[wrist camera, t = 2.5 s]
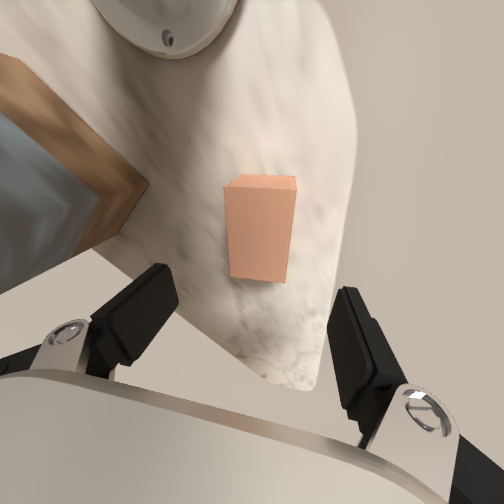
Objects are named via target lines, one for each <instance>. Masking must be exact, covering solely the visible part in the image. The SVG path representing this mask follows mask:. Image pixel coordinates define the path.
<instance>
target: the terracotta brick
mask: <svg viewBox="0 0 504 504" xmlns="http://www.w3.org/2000/svg"><path fill="white" fill-rule="evenodd" d="M296 192H297V187H296V180H295V176H269V175H242V176H240V177H239V178H237V179H235V180H234V181H232V182H230V183H229V184H227V185H225V186H224V199H225V212H226V225H227V238H228V251H229V264H230V277H236V278H244V279H252V280H260V281H269V282H277V283H285V280H286V272H287V264H288V256H289V248H290V240H291V232H292V224H293V216H294V208H295V200H296Z"/></svg>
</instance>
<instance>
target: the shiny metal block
mask: <svg viewBox="0 0 504 504" xmlns="http://www.w3.org/2000/svg"><path fill="white" fill-rule="evenodd" d="M148 186H149V183H148V182H147V181H146V180H145V179H144V178H142V177H141V176H140V175H139V174H138V173H137V172H136V171H135V170H134V169H133V168H132V167H131V166H130V165H129V164H128V163H127V162H126V161H125V160H124V159H123V158H122V157H121V156H120V155H119V154H118V153H117V152H115V151H114V150H113V149H112V148H111V147H110V146H109V145H108V144H107V143H106V142H105V141H104V140H103V139H102V138H101V137H100V136H99V135H98V134H97V133H96V132H95V131H94V130H93V129H92V128H91V127H90V126H89V125H87V124H86V123H85V122H84V121H83V120H82V119H81V118H80V117H79V116H78V115H77V114H76V113H75V112H74V111H73V110H72V109H71V108H70V107H69V106H68V105H67V104H66V103H65V102H64V101H63V100H62V99H60V98H59V97H58V96H57V95H56V94H55V93H54V92H53V91H52V90H51V89H50V88H49V87H48V86H47V85H46V84H45V83H44V82H43V81H42V80H41V79H40V78H39V77H38V76H37V75H36V74H35V73H34V72H32V71H31V70H30V69H29V68H28V67H27V66H26V65H25V64H24V63H23V62H22V61H21V60H20V59H17V58H14V57H11V56H8V55H5V54H1V53H0V295H1V294H2V293H4V292H6V291H8V290H10V289H12V288H14V287H16V286H18V285H20V284H22V283H24V282H26V281H28V280H30V279H32V278H33V277H36V276H37V275H39V274H41V273H43V272H45V271H47V270H49V269H51V268H53V267H55V266H57V265H59V264H61V263H63V262H65V261H67V260H69V259H71V258H72V257H74V256H76V255H78V254H80V253H82V252H84V251H86V250H88V249H90V248H92V247H94V246H96V245H98V244H100V243H102V242H104V241H106V240H108V239H110V238H111V237H113V236H115V235H117V233H118V232H119V230H120V229H121V227H122V226H123V224H124V222H125V221H126V219H127V218H128V216H129V215H130V213H131V212H132V210H133V209H134V207H135V206H136V204H137V203H138V201H139V199H140V198H141V196H142V195H143V193H144V192H145V190H146V189H147V187H148Z"/></svg>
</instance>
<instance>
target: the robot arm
mask: <svg viewBox="0 0 504 504" xmlns="http://www.w3.org/2000/svg"><path fill="white" fill-rule="evenodd" d="M237 1H238V0H92V2H93V3H94V5H95V6H96V7H97V9H98V10H99V11H100V13H101V14H102V15H103V17H104V18H105V19H106V20H107V22H108V23H109V24H110V25H111V26H112V27H113V28H114V29H115V30H116V31H117V32H118V33H119V34H120V35H121V36H122V37H124V38H125V39H127V40H128V41H129V42H131V43H132V44H134V45H135V46H137V47H138V48H140V49H142V50H143V51H145V52H147V53H149V54H151V55H153V56H157V57H160V58H164V59H182V58H185V57H189V56H192V55H195V54H196V53H198V52H199V51H201V50H202V49H204V48H205V47H207V46H208V45H209V44H210V43H211V42H212V41H213V40H214V39H215V38H216V37H217V36H218V34H219V33H220V32H221V31H222V29H223V28H224V26H225V24H226V23H227V21H228V20H229V18H230V16H231V15H232V13H233V11H234V8H235V6H236V4H237ZM172 42H173V44H172ZM178 303H179V300H178V296H177V292H176V288H175V285H174V281H173V277H172V273H171V270H170V268H169V267H168V265H167V264H161V263H155V264H154V265H153V266H151V267H150V268H149V269H148V270H146V271H145V272H144V273H143V274H141V275H140V276H139V277H138V278H137V279H135V280H134V281H133V282H132V283H130V284H129V285H128V286H127V287H125V288H124V289H123V290H122V291H120V292H119V293H118V294H117V295H116V296H114V298H112V299H111V300H109V301H108V302H107V303H106V304H104V305H103V306H102V307H101V308H100V309H98V310H97V311H96V312H95V313H93V314H92V315H91V316H90V317H91V319H92V321H91V322H90V323H89V322H88V321H87V320H85V319H76V320H72V321H70V322H67V323H64V324H63V325H61V326H59V327H57V328H56V329H54V330H53V331H52V332H50V333H49V334H48V335H47V336H46V338H45V339H44V341H43V343H42V344H40V345H37V346H34V347H31V348H29V349H26V350H23V351H21V352H18V353H15V354H12V355H10V356H7V357H4V358H2V359H0V504H504V470H503V469H501V468H500V467H499V466H498V465H497V464H495V463H494V462H493V461H492V460H491V459H489V458H488V457H487V456H486V455H484V454H483V453H482V452H481V451H480V450H478V449H477V448H476V447H475V446H474V445H472V444H471V443H470V442H469V441H468V440H466V439H465V438H464V437H463V436H461V435H460V434H459V429H458V426H457V424H456V421H455V419H454V417H453V416H452V415H451V413H450V411H449V410H448V409H447V408H446V407H445V406H444V405H443V403H442V402H441V401H440V400H438V399H437V398H436V397H435V396H434V395H432V394H431V393H430V392H428V391H426V390H425V389H423V388H421V387H419V386H416V385H413V384H409V383H408V382H407V379H406V378H405V376H404V374H403V371H402V369H401V367H400V366H399V364H398V362H397V360H396V358H395V356H394V354H393V352H392V350H391V348H390V346H389V344H388V342H387V340H386V338H385V336H384V334H383V332H382V330H381V328H380V326H379V324H378V322H377V320H376V319H374V318H371V316H370V314H369V312H368V310H367V308H366V306H365V303H364V301H363V299H362V297H361V295H360V293H359V291H358V289H357V288H354V287H346V286H344V287H343V288H342V289H339V290H338V292H337V295H336V299H335V302H334V305H333V308H332V311H331V314H330V317H329V320H328V323H327V334H328V338H329V344H330V349H331V355H332V359H333V365H334V370H335V375H336V380H337V386H338V391H339V396H340V401H341V406H342V408H343V409H346V410H347V415H348V419H350V420H354V421H357V422H358V426H359V430H360V432H361V433H362V435H361V437H360V439H359V441H358V443H357V445H356V447H354V446H352V445H349V444H346V443H343V442H340V441H337V440H334V439H331V438H327V437H323V436H320V435H317V434H313V433H310V432H306V431H302V430H299V429H296V428H292V427H288V426H285V425H281V424H277V423H273V422H270V421H266V420H262V419H258V418H254V417H251V416H246V415H243V414H239V413H236V412H231V411H227V410H224V409H220V408H216V407H213V406H209V405H205V404H201V403H197V402H194V401H190V400H186V399H182V398H178V397H174V396H170V395H166V394H163V393H158V392H155V391H151V390H147V389H143V388H139V387H135V386H131V385H127V384H123V383H119V382H115V381H114V377H115V368H116V365H117V364H118V363H120V364H121V365H124V366H129V367H130V366H131V365H132V363H133V362H134V361H135V360H137V359H138V358H139V357H140V356H141V355H142V353H143V352H144V350H145V349H146V348H147V346H148V345H149V344H150V343H151V341H152V340H153V338H154V337H155V336H156V334H157V333H158V332H159V330H160V329H161V328H162V326H163V325H164V324H165V322H166V321H167V320H168V318H169V317H170V316H171V314H172V313H173V312H174V310H175V309H176V308H177V306H178Z"/></svg>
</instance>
